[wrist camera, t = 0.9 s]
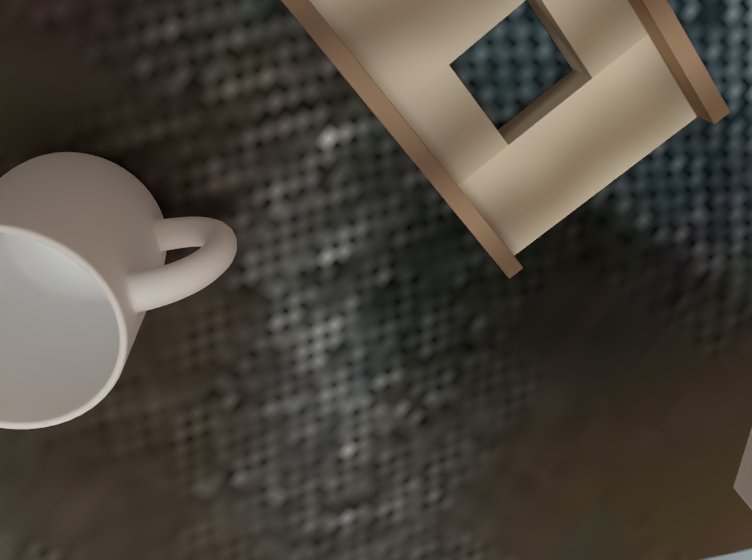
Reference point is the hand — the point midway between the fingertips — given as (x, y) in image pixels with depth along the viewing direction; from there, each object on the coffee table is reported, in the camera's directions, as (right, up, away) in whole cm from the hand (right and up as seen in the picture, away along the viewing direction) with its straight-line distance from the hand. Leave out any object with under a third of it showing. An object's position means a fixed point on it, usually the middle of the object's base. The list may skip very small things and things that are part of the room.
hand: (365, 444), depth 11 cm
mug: (-12, +5, +24) cm, 27 cm away
